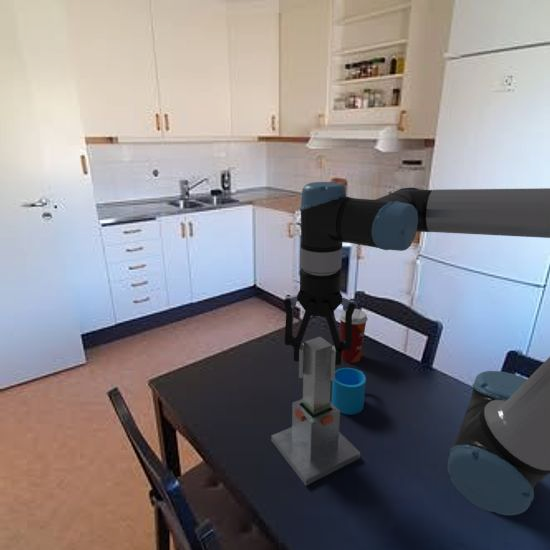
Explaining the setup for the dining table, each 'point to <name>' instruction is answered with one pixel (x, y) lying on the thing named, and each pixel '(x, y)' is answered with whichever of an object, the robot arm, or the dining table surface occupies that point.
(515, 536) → the dining table surface
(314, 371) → the column
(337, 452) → the stand base
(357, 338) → the coffee cup
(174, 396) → the dining table surface
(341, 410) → the mug
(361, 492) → the dining table surface
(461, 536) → the dining table surface
